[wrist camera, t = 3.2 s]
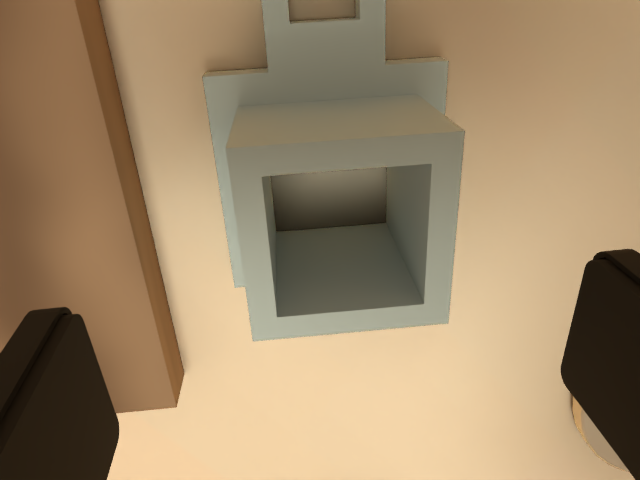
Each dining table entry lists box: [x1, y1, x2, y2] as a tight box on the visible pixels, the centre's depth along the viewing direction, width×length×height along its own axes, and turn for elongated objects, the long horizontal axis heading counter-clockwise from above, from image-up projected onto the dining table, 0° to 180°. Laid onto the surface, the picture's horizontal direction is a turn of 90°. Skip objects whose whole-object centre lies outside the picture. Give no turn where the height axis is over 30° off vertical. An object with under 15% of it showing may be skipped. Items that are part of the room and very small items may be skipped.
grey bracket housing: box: [202, 0, 465, 341], centre depth 15 cm, size 13×8×6 cm, turn 3°
